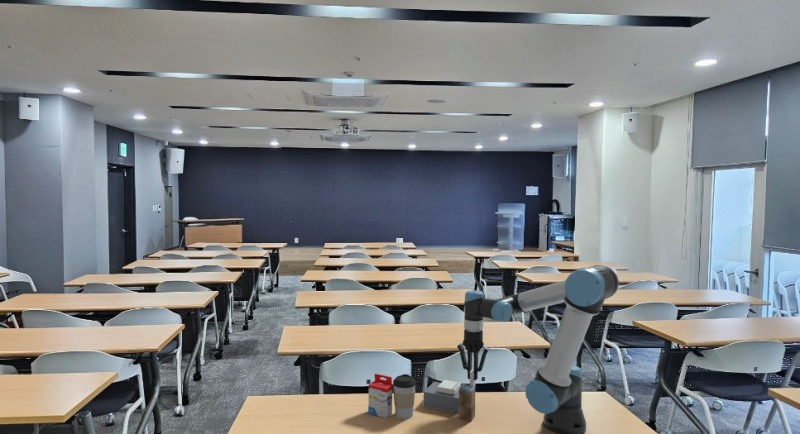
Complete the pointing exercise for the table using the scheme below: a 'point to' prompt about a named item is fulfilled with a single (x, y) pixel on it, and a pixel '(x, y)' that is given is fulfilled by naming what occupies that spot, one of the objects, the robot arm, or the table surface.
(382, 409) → the ink box
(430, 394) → the socket block
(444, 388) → the lid
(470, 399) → the plug
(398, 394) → the coffee cup
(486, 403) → the table surface
